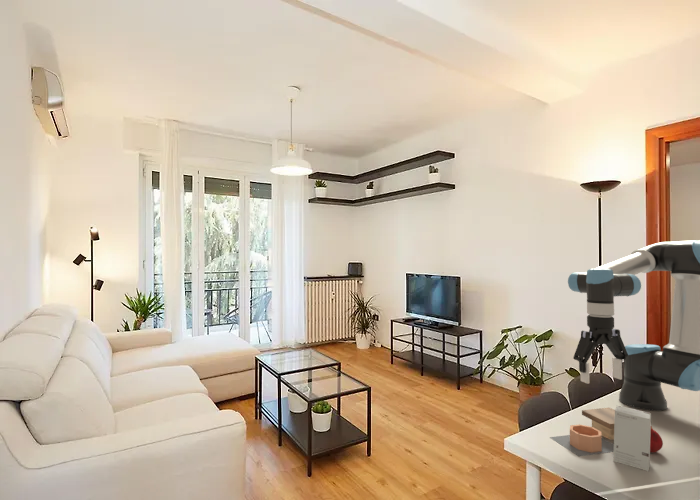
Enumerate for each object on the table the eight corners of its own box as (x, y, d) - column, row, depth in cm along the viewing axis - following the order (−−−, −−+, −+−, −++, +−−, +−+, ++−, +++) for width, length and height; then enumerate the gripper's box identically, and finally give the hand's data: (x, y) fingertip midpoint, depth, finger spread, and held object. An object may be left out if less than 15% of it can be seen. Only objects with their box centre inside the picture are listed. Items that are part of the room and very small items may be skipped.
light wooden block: (609, 429, 130) (609, 414, 130) (628, 439, 124) (628, 423, 124) (592, 431, 129) (591, 416, 129) (610, 441, 122) (609, 425, 122)
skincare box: (613, 463, 109) (612, 410, 110) (615, 454, 114) (615, 404, 114) (650, 474, 104) (649, 418, 104) (651, 464, 109) (651, 411, 109)
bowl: (586, 437, 123) (586, 423, 123) (608, 450, 115) (608, 435, 115) (564, 440, 122) (563, 426, 122) (585, 453, 114) (584, 438, 114)
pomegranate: (667, 459, 111) (667, 431, 112) (644, 457, 113) (644, 429, 113) (655, 449, 117) (655, 422, 117) (634, 447, 118) (634, 421, 118)
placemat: (591, 434, 127) (591, 432, 127) (624, 452, 115) (624, 450, 115) (549, 439, 124) (549, 437, 124) (578, 458, 112) (578, 456, 112)
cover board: (609, 411, 133) (609, 407, 133) (639, 425, 122) (639, 420, 122) (581, 414, 131) (581, 410, 131) (610, 428, 120) (610, 424, 120)
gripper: (618, 312, 135) (619, 373, 134) (560, 315, 128) (561, 380, 127) (640, 315, 127) (641, 380, 127) (579, 319, 120) (580, 387, 120)
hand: (601, 380), depth 127 cm, fingers open, 13 cm apart
